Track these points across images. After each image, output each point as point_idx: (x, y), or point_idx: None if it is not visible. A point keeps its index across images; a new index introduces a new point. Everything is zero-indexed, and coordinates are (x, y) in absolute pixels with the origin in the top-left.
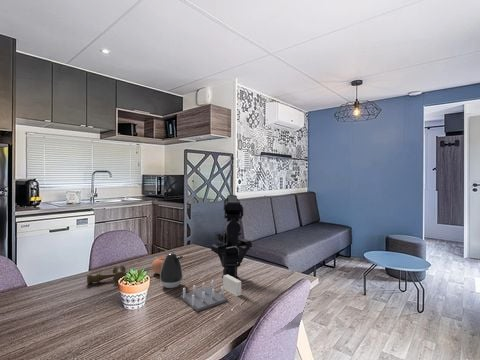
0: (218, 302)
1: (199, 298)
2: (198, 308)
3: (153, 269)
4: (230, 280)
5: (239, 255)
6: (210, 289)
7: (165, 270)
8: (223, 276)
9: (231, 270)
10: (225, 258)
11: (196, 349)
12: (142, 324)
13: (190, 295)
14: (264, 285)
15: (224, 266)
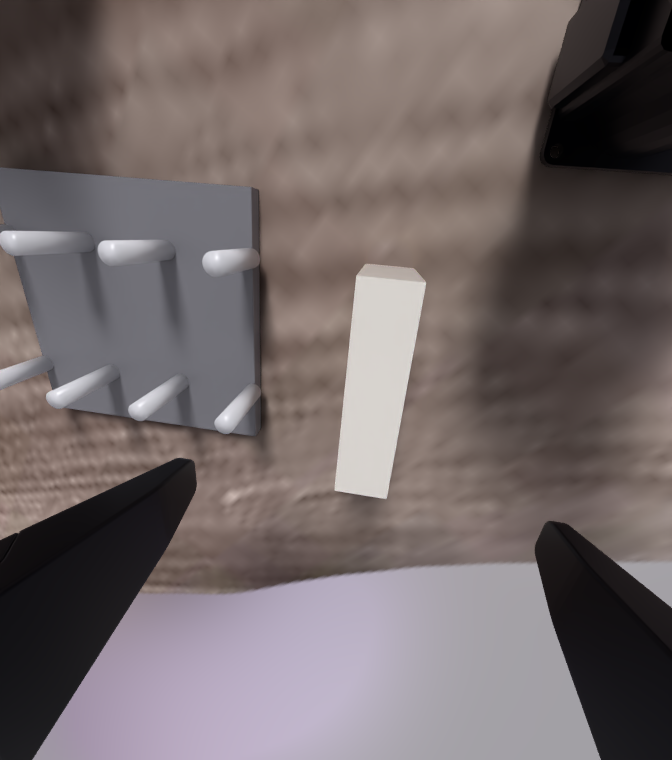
0: (194, 424)
1: (104, 316)
2: (65, 407)
3: None
4: (343, 403)
5: (665, 687)
6: (236, 245)
7: None
8: (357, 278)
9: (669, 112)
10: (38, 723)
11: None
12: None
13: (59, 228)
14: (651, 454)
15: (184, 505)
